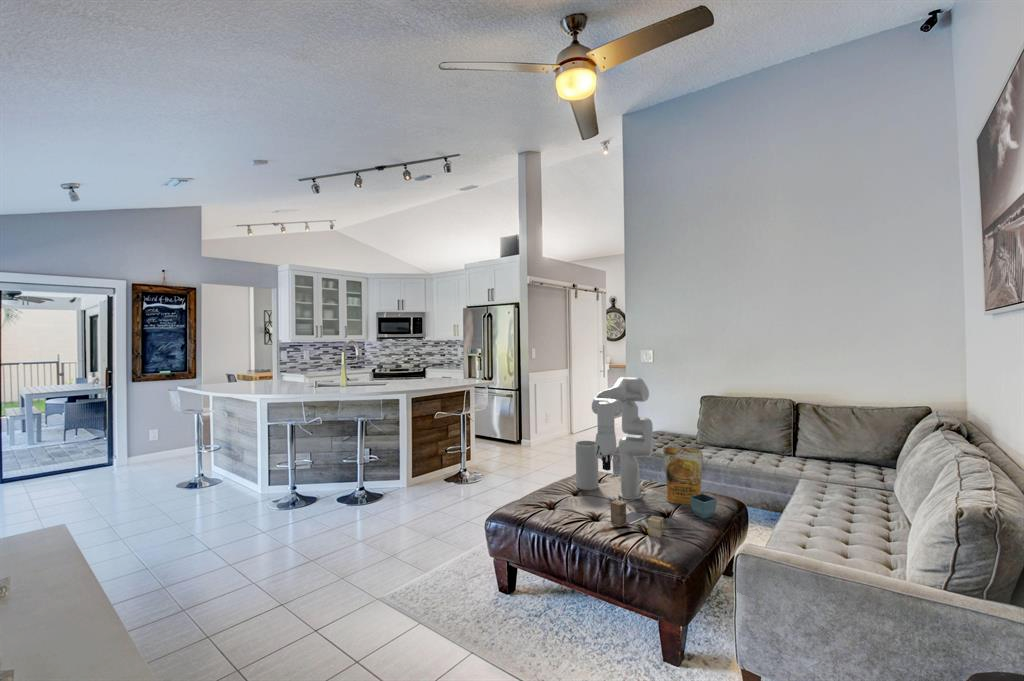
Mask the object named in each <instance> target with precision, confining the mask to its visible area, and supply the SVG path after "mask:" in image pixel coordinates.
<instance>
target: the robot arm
mask: <svg viewBox="0 0 1024 681" xmlns="http://www.w3.org/2000/svg"><path fill="white" fill-rule="evenodd" d="M649 396H650V392H649V388H648V386H647V384H646V382H645V381H644V380H643V379H642V378H640V377H633V376H632V377H630V376H622V377H619V378H617V379H616V380H615V381H614V383H613V385H612V387H610V388H607V389H605V390H602V391H599V392H598V393H597V394H596V395H595V396H594V398H593V399H592V402H591V410H592V413H594V414H596V417H597V432H596V434H595V441H594V442H595V454H598V460H601V461H602V470H604V471H607V472H608V471H611V468H612V465H611V464H612V463H611V461H612V458H613V456H615V455H616V452H617V436H616V431H615V430H616V427H615V417H617V416H620V415H621V430H622V432H623V434H624V435H625V434H626V435H631V437H630V436H623V437H621V438H620V439H619V440H618V449H619V450H618V451H619V456H620V490H619V491H618V493H617V495H618V497H619V498H622V499H624V500H629V501H630V500H631V501H634V500H635V501H636V500H640V499H642V497H643V493H642V492H641V490H644V489H645V486H644V485H640V464H639V461H638V459H637V457H640V458H641V457H642V458H649V457H651V456H652V454H653V450H654V448H653V447H654V445H653V442H654V436H653V433H654V432H653V431H654V427H653V422H652V420H651V419H650V418H649V417H642V416H641V417H640V416H639V406H638V405H637V404H636V403H637V402H640V403H641V402H646V401H648V399H649V398H650V397H649ZM632 436H633V437H632ZM635 436H640V437H635Z"/></svg>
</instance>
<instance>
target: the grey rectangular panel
mask: <svg viewBox="0 0 1024 681" xmlns="http://www.w3.org/2000/svg"><path fill="white" fill-rule="evenodd" d="M646 518H647V516H646V515H643V514H641V513H637V512H635V511H631V510H630V511H628V512H626V525H627V524H628V525H633V524H635V523H637V522H640V521H641V520H643V519H646Z"/></svg>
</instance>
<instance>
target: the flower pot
mask: <svg viewBox="0 0 1024 681" xmlns="http://www.w3.org/2000/svg"><path fill="white" fill-rule="evenodd" d="M690 501H691V505H690V506H691V509H692V511H693V513H694V515H695V516H696V515H698V516H697V517H699V516H700V517H699V518H701V517H702V518H701V519H703V518H705V519H708V517H709V518H711V517H713V515H714V514H715V511H716V509H717V508H716V507H717V502H718V499H717V498H715V497H714V496H713V497H712V496H710V495H707V494H705V493H700V494H699V495H695V496H691V497H690Z"/></svg>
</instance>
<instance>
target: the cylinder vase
mask: <svg viewBox="0 0 1024 681" xmlns="http://www.w3.org/2000/svg"><path fill="white" fill-rule="evenodd" d="M575 481H576V482H575V483H576V484H575V486H576V487H577V489H579V490H583V491H593V490H597V489H598V488H599V487H600V486H599V483H600V482H599V458H598V454H595V441H594V440H580V441H579V440H578V441H576V442H575Z"/></svg>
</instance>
